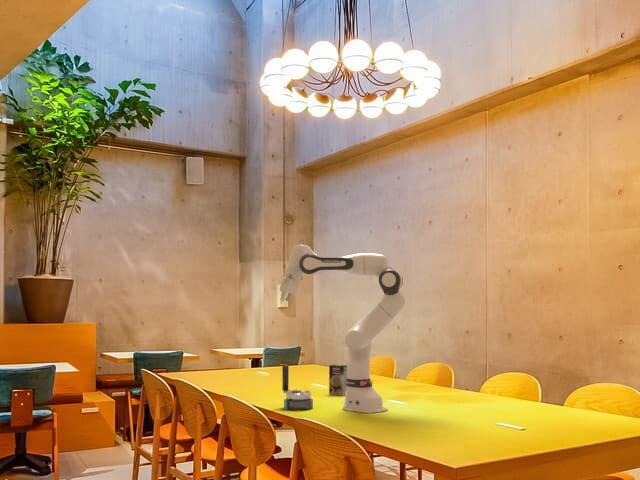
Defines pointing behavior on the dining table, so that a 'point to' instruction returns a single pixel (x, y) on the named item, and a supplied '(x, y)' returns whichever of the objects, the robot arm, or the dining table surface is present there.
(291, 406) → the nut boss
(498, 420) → the dining table surface
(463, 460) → the dining table surface
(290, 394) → the disc with upright handle
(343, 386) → the coffee box
